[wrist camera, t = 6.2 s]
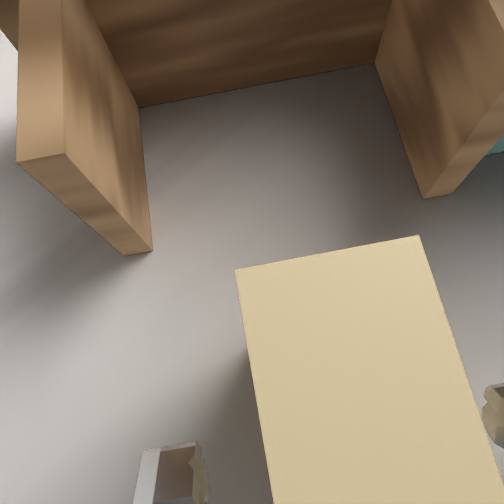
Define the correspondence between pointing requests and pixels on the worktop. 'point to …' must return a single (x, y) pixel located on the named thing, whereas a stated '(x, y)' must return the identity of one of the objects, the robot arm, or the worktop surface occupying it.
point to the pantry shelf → (238, 82)
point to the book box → (362, 381)
